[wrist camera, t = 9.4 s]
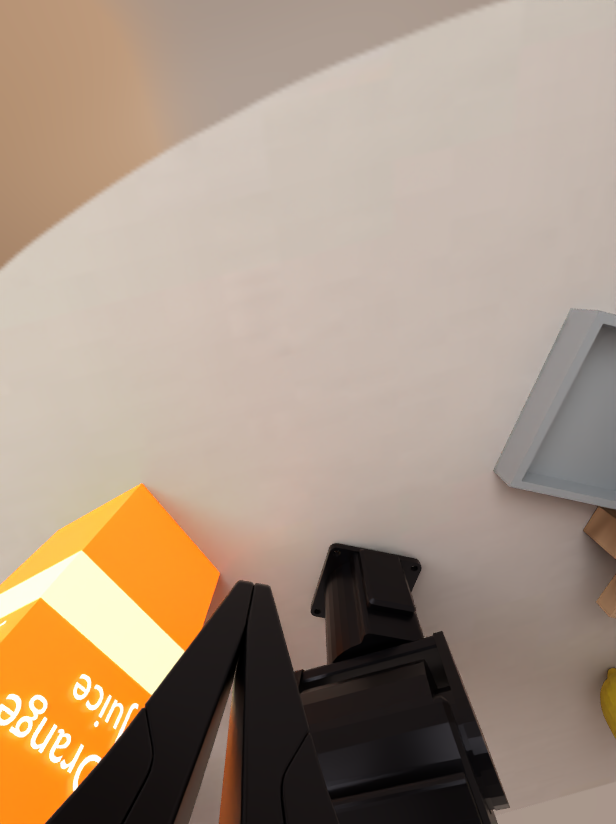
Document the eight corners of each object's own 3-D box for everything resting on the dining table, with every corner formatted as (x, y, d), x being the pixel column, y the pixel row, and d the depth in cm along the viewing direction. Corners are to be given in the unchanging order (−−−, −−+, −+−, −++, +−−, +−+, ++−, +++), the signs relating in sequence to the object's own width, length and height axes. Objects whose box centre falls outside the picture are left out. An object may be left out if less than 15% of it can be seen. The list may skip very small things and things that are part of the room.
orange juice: (142, 481, 22) (-1014, 1781, 3) (222, 573, 24) (-97, 1573, 5) (55, 531, 23) (-1092, 1603, 4) (139, 612, 26) (-344, 1508, 7)
